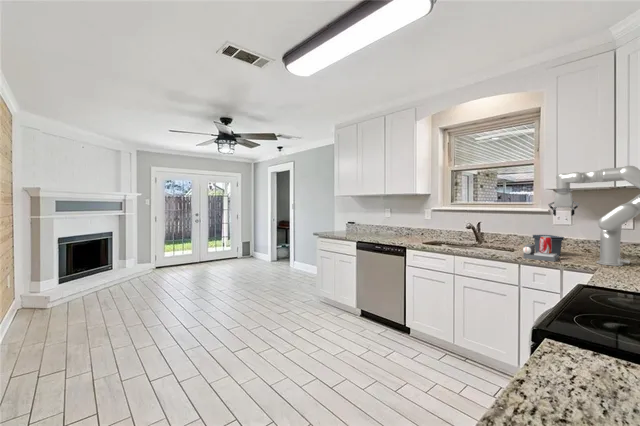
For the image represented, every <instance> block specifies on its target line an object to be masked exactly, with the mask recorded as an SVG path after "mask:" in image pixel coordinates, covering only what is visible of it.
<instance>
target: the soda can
mask: <svg viewBox="0 0 640 426" xmlns="http://www.w3.org/2000/svg"><path fill="white" fill-rule="evenodd" d="M539 250H540V253H542V254H550V253H552V239H551V237H550V236H541V238H540V244H539Z"/></svg>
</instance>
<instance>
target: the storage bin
mask: <svg viewBox="0 0 640 426" xmlns="http://www.w3.org/2000/svg"><path fill="white" fill-rule="evenodd" d="M541 236H550V237H551V239H552V253H556V254H557V255H559V257H561V251H562V243H563V241H564V240H565V237H564V236H558V235H553V234H532V238H533V239H534V245H535V253H536V252H540V250H539V244H540V238H541Z"/></svg>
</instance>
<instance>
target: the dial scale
mask: <svg viewBox="0 0 640 426" xmlns="http://www.w3.org/2000/svg"><path fill="white" fill-rule="evenodd" d="M522 252H523V259H525V260H526V259H527V260H535V261H542V262H543V261H544V262H553V263H555V262H557V261H558V260H559V257H560V256H559V255H557V254H556V253H550V254H542V253H540V252H535V243H528V244H525V245H524V246H523V248H522Z"/></svg>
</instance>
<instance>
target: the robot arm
mask: <svg viewBox="0 0 640 426" xmlns="http://www.w3.org/2000/svg"><path fill="white" fill-rule="evenodd" d="M555 180H556V185H555V186H556V193H555V194H554V200H553V202H550V203H548V207H549V209H551V210H552V215H553V216H554V217H556V216H557V210H556V209H558V208H570V209H571V211H570V212H571V216H573V217H574V215H575V210H576V209H577V208H578V207H579V205H580V203H579V202H578V201H574V198H573V193H572V192H573V191H574V189H571V184H591V183H593V184H594V183H608V182H609V183H610V182H623V181H626V182H627V183H629V184H630V185H632V186H634V187H636V188H637V189H639V190H640V169H639V168H638V167H636V166H634V165H624V166H621V167H609V168H602V169H600V170H596V171H595V170H594V171H585V172H580V171H579V172H578V171H575V172H570V173H558V174H556V176H555ZM574 204H575V206H574ZM552 205H554V207H553V206H552ZM639 214H640V193H639V194H637V195H636V196H635V197H634V198H632V199H631V200H628V201H627V202H626V203H622V204H619V205H618V206H616V207H615V208H613V209H611V210H610V211H609V212H607V213H606V214H604V215H603V216H601V217H600V218H599V219H598V221H597V225H598V227H599V228H600V237H599V238H600V240H599V243H600V244H599V260H596V263H597V264H599V265H604V266H613V267H614V266H615V267H623V266H624V264H630V263H631V260H629V259H622V257H621V242H622V240H621V239H622V226H623V225H624V224H625V223H627V222H629V221H630V220H632V219H633V218H636V217H637V216H639Z"/></svg>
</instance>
